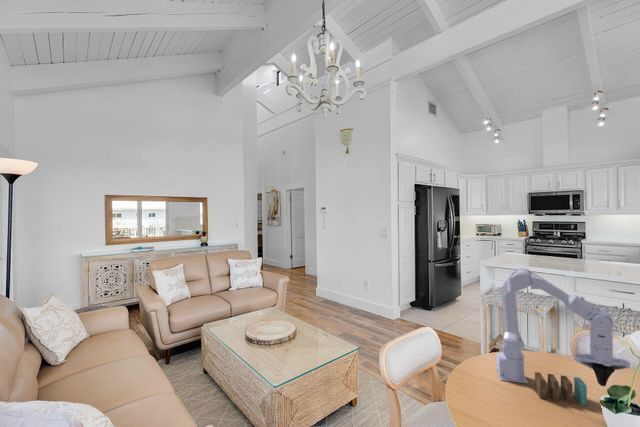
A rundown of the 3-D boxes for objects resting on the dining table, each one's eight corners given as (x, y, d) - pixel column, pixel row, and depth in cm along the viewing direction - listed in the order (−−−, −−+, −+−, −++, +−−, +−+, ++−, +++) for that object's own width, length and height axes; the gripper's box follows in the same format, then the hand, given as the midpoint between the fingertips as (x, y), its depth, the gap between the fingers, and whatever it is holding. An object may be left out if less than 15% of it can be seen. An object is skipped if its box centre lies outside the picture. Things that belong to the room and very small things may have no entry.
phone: (578, 360, 131) (606, 356, 133) (578, 362, 131) (606, 358, 133) (598, 370, 123) (627, 365, 126) (598, 372, 123) (627, 367, 126)
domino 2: (553, 400, 107) (553, 381, 107) (547, 392, 112) (547, 373, 111) (558, 401, 106) (558, 382, 106) (553, 392, 111) (552, 374, 111)
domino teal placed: (581, 404, 104) (581, 385, 104) (574, 395, 109) (574, 377, 109) (586, 405, 104) (586, 385, 104) (579, 396, 108) (579, 377, 108)
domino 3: (567, 402, 106) (566, 383, 105) (560, 394, 110) (560, 375, 110) (572, 403, 105) (572, 383, 105) (566, 394, 110) (565, 376, 110)
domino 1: (540, 398, 108) (539, 379, 108) (535, 390, 113) (534, 372, 113) (545, 399, 108) (545, 380, 107) (540, 391, 112) (540, 372, 112)
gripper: (581, 348, 102) (581, 387, 103) (635, 353, 98) (636, 394, 98) (571, 339, 109) (571, 376, 109) (622, 344, 104) (622, 382, 105)
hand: (601, 384), depth 104 cm, fingers closed
